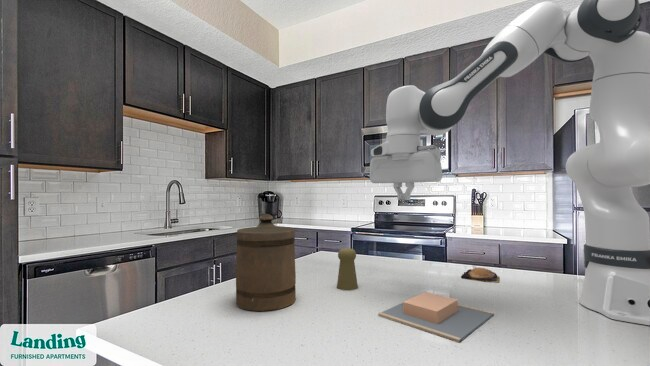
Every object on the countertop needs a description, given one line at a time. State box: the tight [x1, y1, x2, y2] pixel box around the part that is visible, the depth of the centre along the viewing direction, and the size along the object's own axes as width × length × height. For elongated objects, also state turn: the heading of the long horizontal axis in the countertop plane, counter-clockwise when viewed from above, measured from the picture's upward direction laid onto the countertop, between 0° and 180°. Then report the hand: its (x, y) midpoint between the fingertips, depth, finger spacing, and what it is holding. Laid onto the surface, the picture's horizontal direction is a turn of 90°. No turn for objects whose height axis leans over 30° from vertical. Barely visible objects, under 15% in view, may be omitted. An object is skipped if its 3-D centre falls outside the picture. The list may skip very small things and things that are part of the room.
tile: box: [402, 291, 459, 324], centre depth 72 cm, size 2×10×8 cm
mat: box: [377, 302, 495, 343], centre depth 71 cm, size 18×18×1 cm
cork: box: [336, 247, 359, 291], centre depth 92 cm, size 6×6×11 cm
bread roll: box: [460, 267, 501, 284], centre depth 101 cm, size 11×9×4 cm
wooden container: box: [235, 213, 297, 312], centre depth 81 cm, size 15×15×22 cm
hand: (403, 200), depth 85 cm, fingers closed
